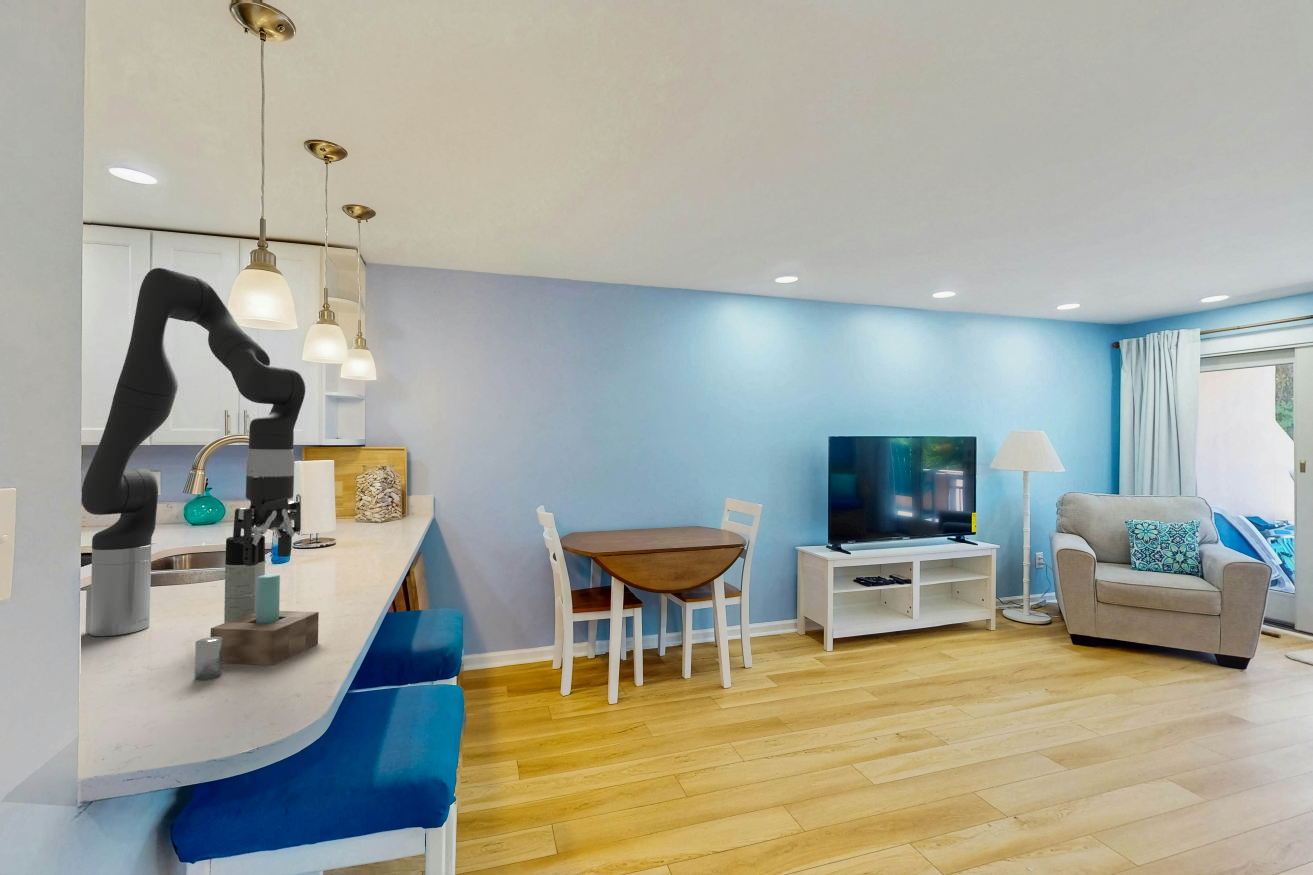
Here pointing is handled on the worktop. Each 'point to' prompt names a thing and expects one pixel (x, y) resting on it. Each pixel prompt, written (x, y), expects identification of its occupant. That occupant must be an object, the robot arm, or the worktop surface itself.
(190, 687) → the worktop surface
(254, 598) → the spray can
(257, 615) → the long pin
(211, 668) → the short pin
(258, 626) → the socket block
